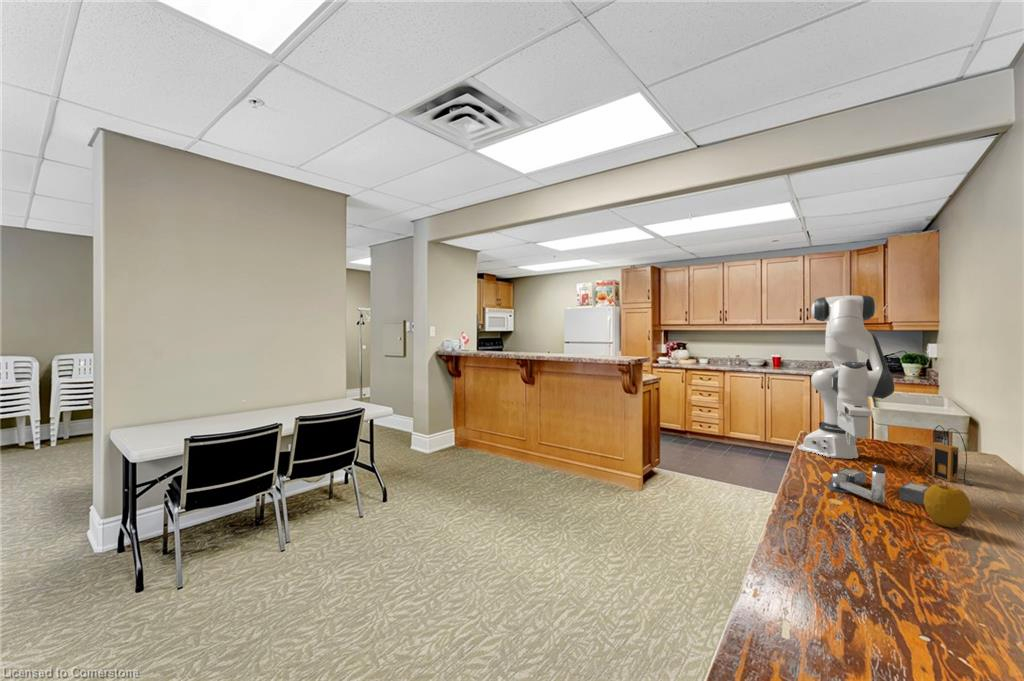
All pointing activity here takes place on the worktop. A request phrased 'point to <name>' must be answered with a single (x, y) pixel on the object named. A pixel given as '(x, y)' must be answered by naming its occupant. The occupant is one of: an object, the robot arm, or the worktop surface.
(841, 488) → the arm mount
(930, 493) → the apple
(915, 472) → the worktop surface
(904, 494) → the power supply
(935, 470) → the multimeter
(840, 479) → the grey crank handle
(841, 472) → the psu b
